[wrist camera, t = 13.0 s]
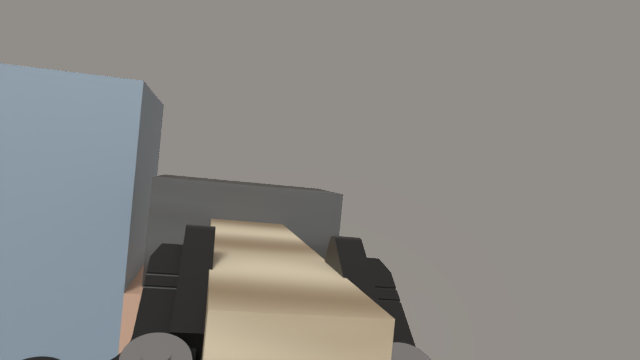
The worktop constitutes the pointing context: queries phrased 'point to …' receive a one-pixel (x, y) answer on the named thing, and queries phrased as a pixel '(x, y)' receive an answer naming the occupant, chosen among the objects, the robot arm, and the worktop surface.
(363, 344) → the mallet
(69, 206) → the step stand
